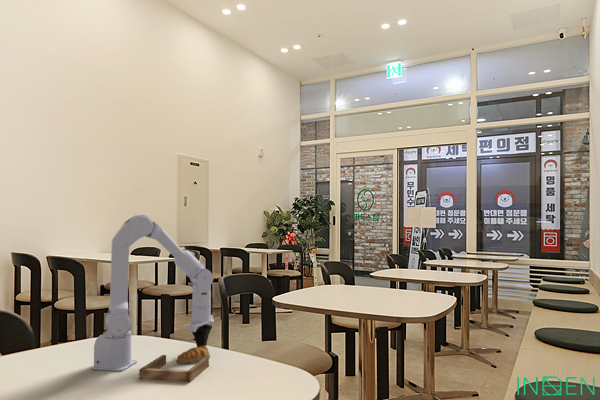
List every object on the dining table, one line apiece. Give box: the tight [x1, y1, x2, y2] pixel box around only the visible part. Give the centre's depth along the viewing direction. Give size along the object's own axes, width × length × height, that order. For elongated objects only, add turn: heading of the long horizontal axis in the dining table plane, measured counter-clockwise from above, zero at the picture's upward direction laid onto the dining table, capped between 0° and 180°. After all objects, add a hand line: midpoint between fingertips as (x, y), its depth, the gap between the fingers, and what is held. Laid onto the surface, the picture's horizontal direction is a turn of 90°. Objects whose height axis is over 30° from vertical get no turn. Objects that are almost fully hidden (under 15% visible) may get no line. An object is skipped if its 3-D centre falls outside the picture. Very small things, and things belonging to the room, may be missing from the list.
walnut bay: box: [138, 354, 210, 383], centre depth 115 cm, size 14×12×2 cm
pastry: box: [176, 345, 211, 365], centre depth 125 cm, size 9×7×4 cm
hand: (201, 349), depth 133 cm, fingers closed
